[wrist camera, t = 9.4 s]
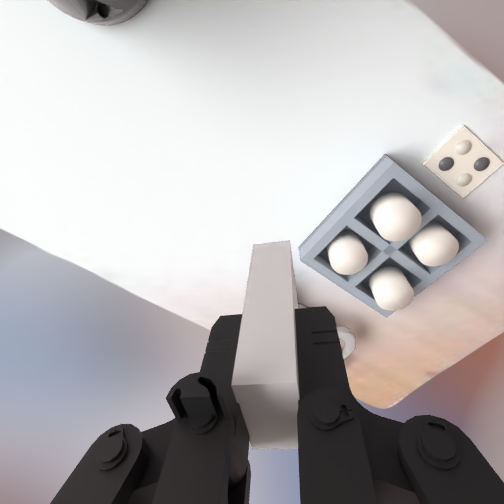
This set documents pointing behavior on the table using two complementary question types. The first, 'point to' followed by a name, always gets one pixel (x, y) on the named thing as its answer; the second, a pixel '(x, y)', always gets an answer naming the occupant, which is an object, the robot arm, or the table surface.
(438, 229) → the button
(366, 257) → the button
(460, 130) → the card
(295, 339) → the robot arm
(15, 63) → the table surface
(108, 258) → the table surface
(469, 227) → the button board
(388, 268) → the button
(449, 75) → the table surface
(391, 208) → the button
